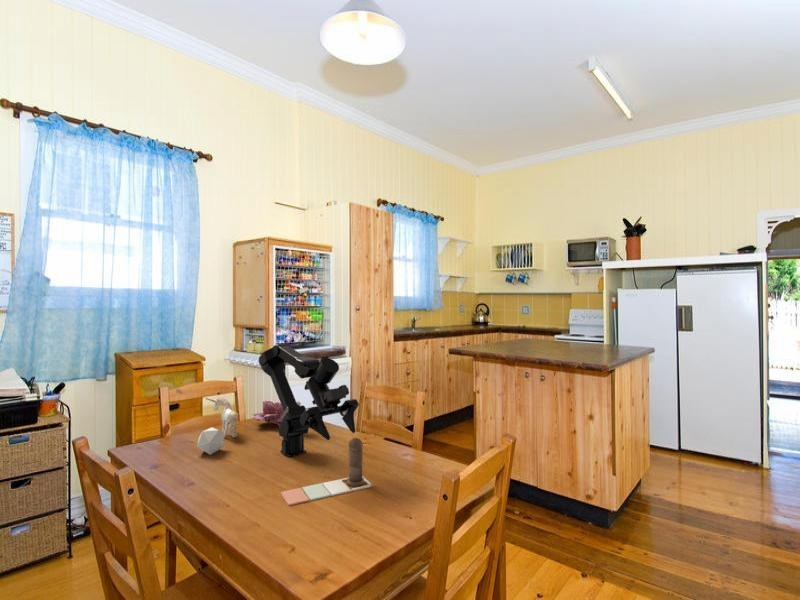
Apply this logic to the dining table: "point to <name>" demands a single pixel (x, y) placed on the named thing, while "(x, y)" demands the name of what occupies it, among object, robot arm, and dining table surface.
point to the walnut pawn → (355, 463)
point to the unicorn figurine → (226, 416)
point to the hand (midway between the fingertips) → (342, 435)
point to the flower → (270, 413)
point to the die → (211, 440)
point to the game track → (318, 491)
